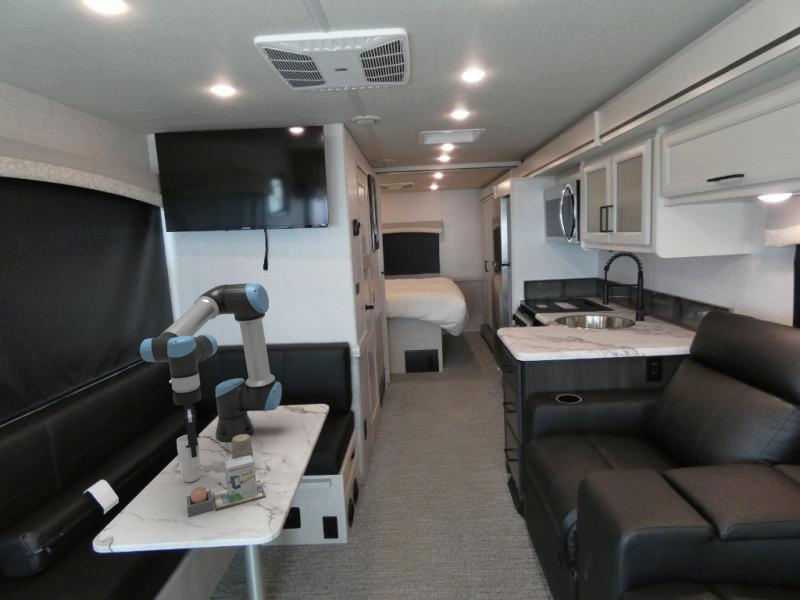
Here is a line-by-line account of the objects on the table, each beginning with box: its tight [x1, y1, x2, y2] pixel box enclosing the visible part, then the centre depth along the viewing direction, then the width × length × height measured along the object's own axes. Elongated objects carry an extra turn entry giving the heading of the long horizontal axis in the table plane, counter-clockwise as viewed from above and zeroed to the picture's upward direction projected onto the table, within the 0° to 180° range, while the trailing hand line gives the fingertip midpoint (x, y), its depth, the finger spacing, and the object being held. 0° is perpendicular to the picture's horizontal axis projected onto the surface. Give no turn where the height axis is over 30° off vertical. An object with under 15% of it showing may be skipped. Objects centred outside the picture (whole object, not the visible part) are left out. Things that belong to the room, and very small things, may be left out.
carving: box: [230, 434, 254, 460], centre depth 167 cm, size 6×8×12 cm
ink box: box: [224, 456, 258, 503], centre depth 148 cm, size 9×5×12 cm, turn 116°
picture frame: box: [211, 479, 267, 512], centre depth 150 cm, size 11×15×1 cm
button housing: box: [186, 490, 214, 518], centre depth 144 cm, size 7×7×3 cm
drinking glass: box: [176, 434, 201, 483], centre depth 161 cm, size 7×7×15 cm
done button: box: [190, 486, 207, 505], centre depth 144 cm, size 4×4×4 cm
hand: (195, 462), depth 142 cm, fingers open, 4 cm apart
